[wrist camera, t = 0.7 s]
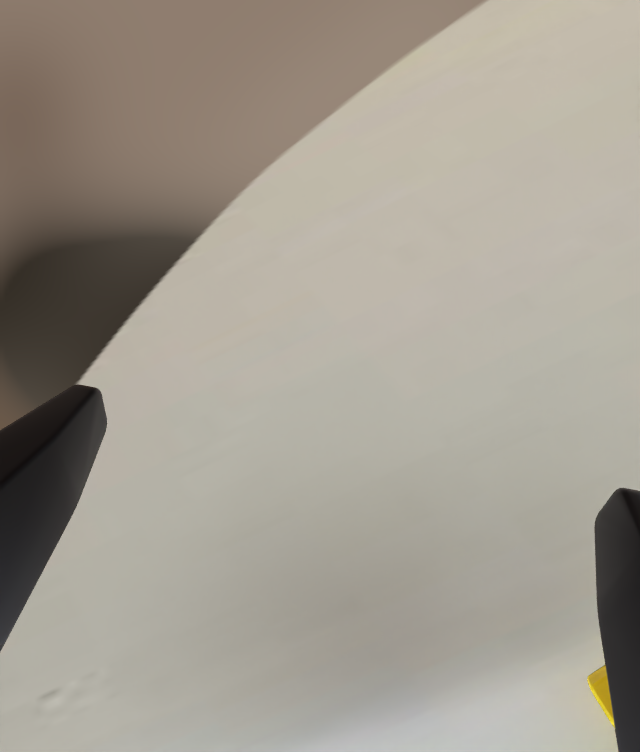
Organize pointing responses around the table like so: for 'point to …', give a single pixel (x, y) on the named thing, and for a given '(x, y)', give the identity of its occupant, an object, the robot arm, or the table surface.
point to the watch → (601, 691)
